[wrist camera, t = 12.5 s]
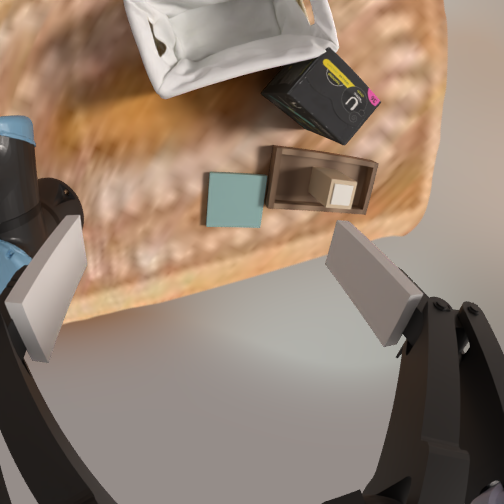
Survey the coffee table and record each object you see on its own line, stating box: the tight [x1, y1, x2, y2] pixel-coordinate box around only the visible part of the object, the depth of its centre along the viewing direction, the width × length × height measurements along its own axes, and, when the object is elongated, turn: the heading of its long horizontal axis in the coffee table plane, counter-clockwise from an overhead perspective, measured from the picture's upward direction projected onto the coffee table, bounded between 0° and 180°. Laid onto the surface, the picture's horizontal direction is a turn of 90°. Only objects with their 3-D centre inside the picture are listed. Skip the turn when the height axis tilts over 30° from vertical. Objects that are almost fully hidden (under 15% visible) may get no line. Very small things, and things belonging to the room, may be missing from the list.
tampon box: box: [261, 47, 381, 145], centre depth 38 cm, size 11×9×15 cm
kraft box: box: [308, 167, 357, 209], centre depth 50 cm, size 5×5×8 cm
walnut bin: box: [265, 145, 378, 215], centre depth 52 cm, size 21×11×2 cm, turn 83°
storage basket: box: [123, 0, 339, 99], centre depth 30 cm, size 24×16×15 cm
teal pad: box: [206, 172, 267, 228], centre depth 52 cm, size 10×10×1 cm
